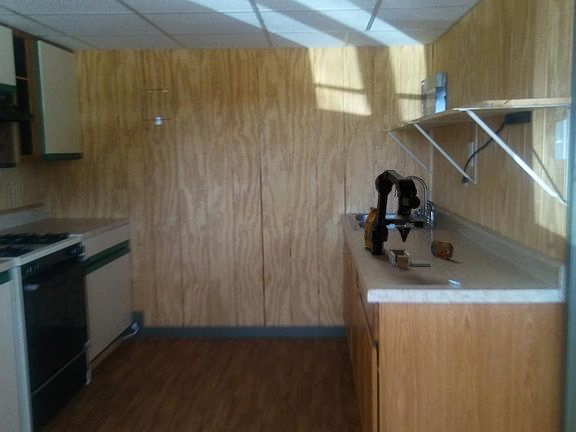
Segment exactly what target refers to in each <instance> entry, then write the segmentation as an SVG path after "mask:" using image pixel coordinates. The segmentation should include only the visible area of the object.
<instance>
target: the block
mask: <svg viewBox="0 0 576 432" xmlns="http://www.w3.org/2000/svg"><path fill="white" fill-rule="evenodd" d="M396 261H397V263H396V266H398V267H399V268H398V267H397V268H398V269H409V265H408V257H407V256H406V255H402V256H397V260H396Z"/></svg>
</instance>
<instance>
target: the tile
mask: <svg viewBox="0 0 576 432" xmlns="http://www.w3.org/2000/svg"><path fill="white" fill-rule="evenodd" d="M410 265H411V266H412V267H431V263H430V262H429V260H426V259H410Z"/></svg>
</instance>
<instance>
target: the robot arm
mask: <svg viewBox="0 0 576 432" xmlns="http://www.w3.org/2000/svg"><path fill="white" fill-rule="evenodd" d="M374 185H375V187H374V188H375V190H376V192H377V203H376V208H377V212H376V221H375V223H374V224H373V225H372V228H371V231H370V233H369V236H368V241H370V242H372V250H370V254H371V255H386V253H385V252H384V250H383V242H384V243H385V242H386V243H387V242H388V241H389V239H388V238H389V227H388V226H391V225H394V229H397V231H398V232H399V235H400V237H401V240H402V242H403V243H406V241H407V239H408V236H409V235H410V232H411V231H412V229H414V228H420V229H421V228H423V229H424V228H425V227H427V226H428V222H427V220H425V219H415V221H414V220H413V219H412V212H413V210H417V209H419V207H420V206H421V199H420V198H419V196H417V195H418V189H417V186H416V184H415V181H414V180H413V179H412V178H409V177H403V176H402V175H401V174H399V173H398V172H397V171H396V170H394V169H385V170H384V171H383V172H381V173H380V174H378V175H377V176H376V179H375V180H374ZM394 186H395V190H396V191H397V195H396V196H397V201H398V202H397V210H396V214H395V215H394V216H393V218H390V217H389V218H388V217H387V207H388V199H389V198H388V197H389V195H390V193H391V192H392V191H393V188H394Z"/></svg>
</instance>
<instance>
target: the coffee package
mask: <svg viewBox="0 0 576 432" xmlns="http://www.w3.org/2000/svg"><path fill="white" fill-rule="evenodd" d="M369 210H370V211H369V213H368V215H367V216H366V218H365V220H364V234H363V238H364V246H365V247H366V248H367V249H369V250H370V251H372V242H370V241H368V236H369V233H370V231H371V228H372V225H373V224H374V223H375V221H376V212H377V207H374V206H370V207H369ZM384 248H385V242H383V251H384V250H385V249H384Z"/></svg>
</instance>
